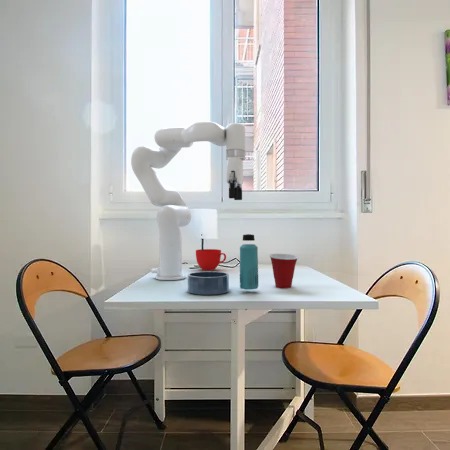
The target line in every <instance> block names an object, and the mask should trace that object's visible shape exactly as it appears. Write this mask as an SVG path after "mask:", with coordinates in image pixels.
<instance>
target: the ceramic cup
mask: <svg viewBox="0 0 450 450" xmlns="http://www.w3.org/2000/svg"><path fill="white" fill-rule="evenodd" d="M222 255H223V260H222V261H221V257H222ZM195 259H196V263H197V265H198V266H199V268H200V269H201V271H215V270H216V269H217V268H218V267H219V265H221V264H222V263H225V262H226V260H227V255H226V253H225V252H222V250H221V249H217V248H203V251H202V248H201V249H196V250H195Z"/></svg>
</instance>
